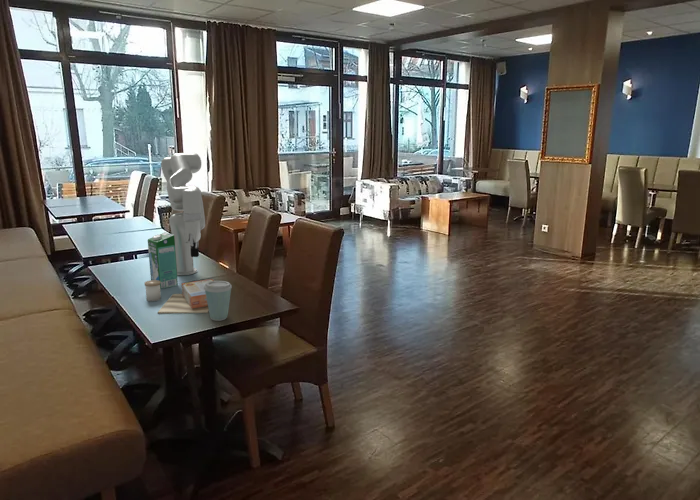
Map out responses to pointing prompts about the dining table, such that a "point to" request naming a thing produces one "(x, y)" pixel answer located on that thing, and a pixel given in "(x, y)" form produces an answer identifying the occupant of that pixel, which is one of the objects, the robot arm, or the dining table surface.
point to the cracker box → (195, 293)
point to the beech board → (180, 306)
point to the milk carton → (163, 259)
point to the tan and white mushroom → (153, 290)
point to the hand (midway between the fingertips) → (194, 256)
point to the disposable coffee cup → (218, 299)
